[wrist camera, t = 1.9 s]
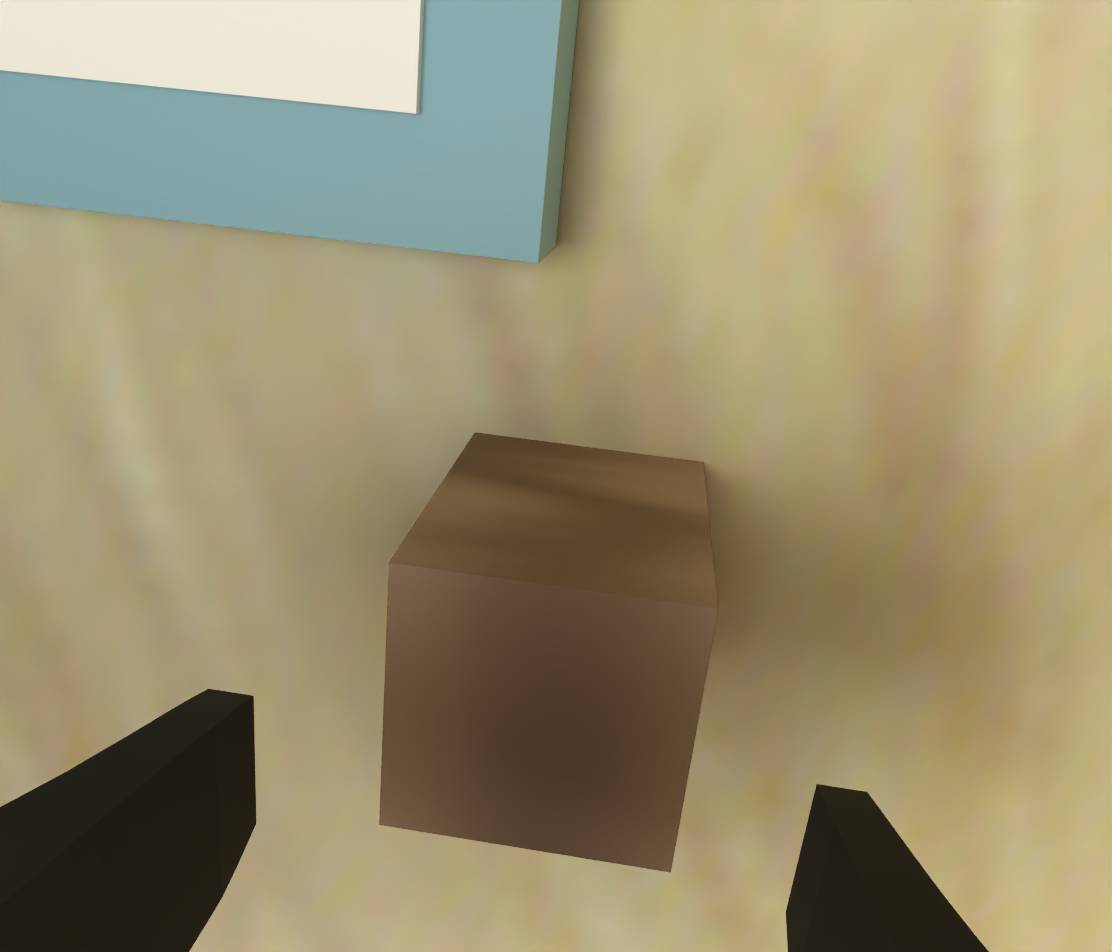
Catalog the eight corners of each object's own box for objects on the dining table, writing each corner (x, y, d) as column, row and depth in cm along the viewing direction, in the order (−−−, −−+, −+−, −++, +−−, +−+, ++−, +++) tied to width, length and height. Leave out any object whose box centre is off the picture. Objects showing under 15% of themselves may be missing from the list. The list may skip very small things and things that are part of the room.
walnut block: (461, 631, 20) (379, 824, 14) (475, 432, 18) (388, 562, 13) (670, 661, 20) (670, 871, 14) (703, 461, 18) (717, 609, 12)
